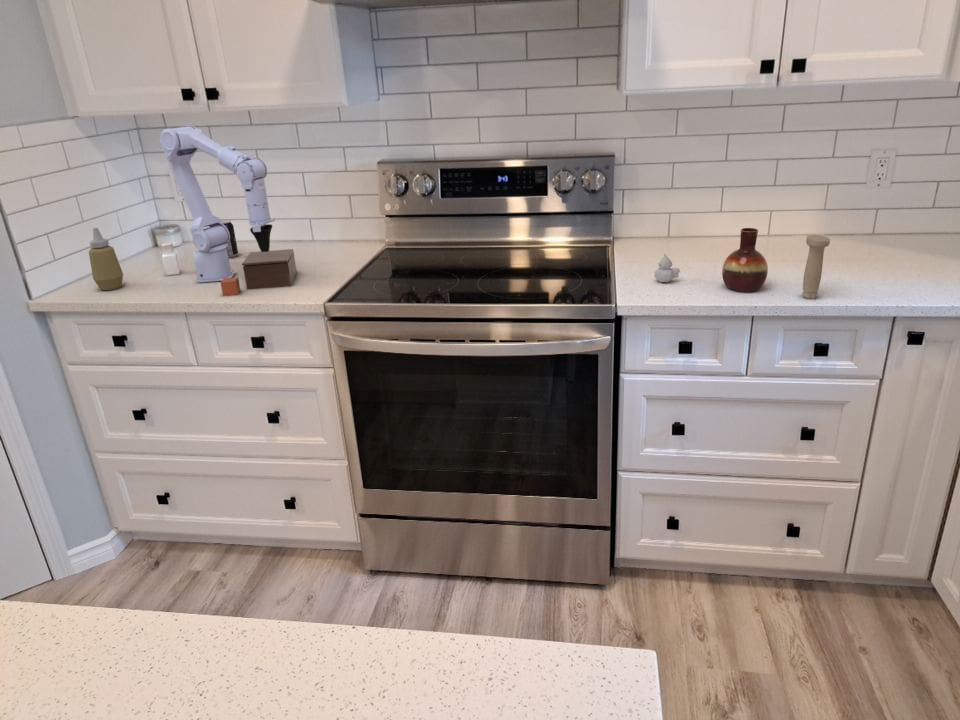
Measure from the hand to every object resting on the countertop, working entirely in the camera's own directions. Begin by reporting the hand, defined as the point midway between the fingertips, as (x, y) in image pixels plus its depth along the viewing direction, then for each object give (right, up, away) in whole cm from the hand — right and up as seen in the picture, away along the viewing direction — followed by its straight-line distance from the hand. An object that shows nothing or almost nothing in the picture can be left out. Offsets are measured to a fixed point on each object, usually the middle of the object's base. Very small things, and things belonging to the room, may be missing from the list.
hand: (265, 251), depth 199 cm
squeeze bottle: (-48, -10, +7) cm, 50 cm away
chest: (0, -8, +7) cm, 10 cm away
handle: (+144, -16, -26) cm, 148 cm away
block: (-9, -12, -3) cm, 15 cm away
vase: (+131, -13, -17) cm, 133 cm away
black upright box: (-23, +4, +35) cm, 42 cm away
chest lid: (0, -1, +4) cm, 4 cm away
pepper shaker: (-35, -4, +18) cm, 40 cm away
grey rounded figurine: (+113, -10, -10) cm, 114 cm away
